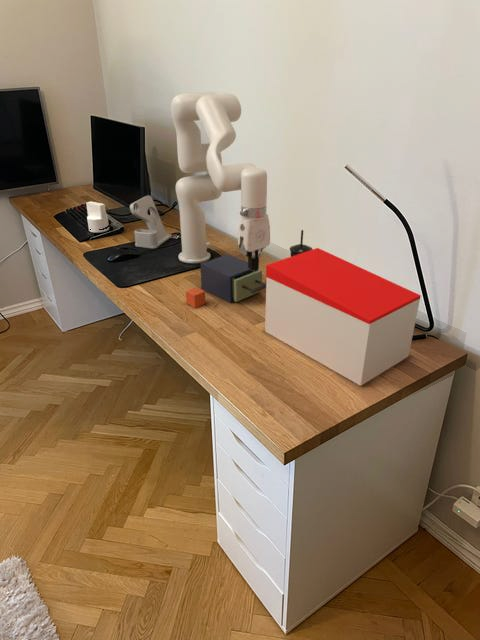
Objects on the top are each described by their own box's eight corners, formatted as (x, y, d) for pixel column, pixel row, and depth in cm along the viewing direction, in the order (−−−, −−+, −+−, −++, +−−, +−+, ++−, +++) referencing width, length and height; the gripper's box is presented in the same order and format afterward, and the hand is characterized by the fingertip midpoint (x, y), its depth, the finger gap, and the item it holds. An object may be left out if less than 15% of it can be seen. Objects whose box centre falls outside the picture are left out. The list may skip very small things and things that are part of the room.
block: (186, 303, 158) (185, 291, 156) (197, 299, 161) (196, 287, 159) (195, 308, 155) (194, 295, 153) (205, 303, 158) (205, 291, 156)
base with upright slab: (113, 228, 225) (109, 202, 219) (99, 233, 218) (95, 207, 212) (99, 225, 229) (95, 199, 223) (84, 230, 222) (80, 204, 216)
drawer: (273, 296, 161) (274, 275, 157) (248, 307, 154) (248, 286, 150) (233, 279, 173) (233, 259, 169) (209, 288, 166) (208, 268, 162)
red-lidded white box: (311, 309, 154) (317, 247, 144) (408, 356, 131) (422, 285, 121) (263, 330, 143) (265, 264, 133) (360, 386, 119) (371, 310, 109)
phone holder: (154, 249, 202) (150, 206, 193) (133, 246, 204) (128, 203, 196) (172, 235, 216) (169, 195, 207) (152, 233, 219) (148, 193, 210)
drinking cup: (295, 291, 166) (299, 235, 156) (283, 283, 172) (286, 228, 162) (314, 287, 169) (318, 232, 159) (301, 279, 175) (305, 225, 165)
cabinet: (258, 291, 166) (258, 265, 162) (230, 302, 159) (230, 276, 154) (228, 278, 176) (228, 254, 171) (201, 288, 168) (200, 263, 164)
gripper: (244, 219, 139) (244, 278, 148) (280, 209, 148) (278, 265, 157) (226, 214, 144) (227, 271, 152) (262, 204, 153) (261, 259, 161)
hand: (253, 268), depth 154 cm, fingers closed
